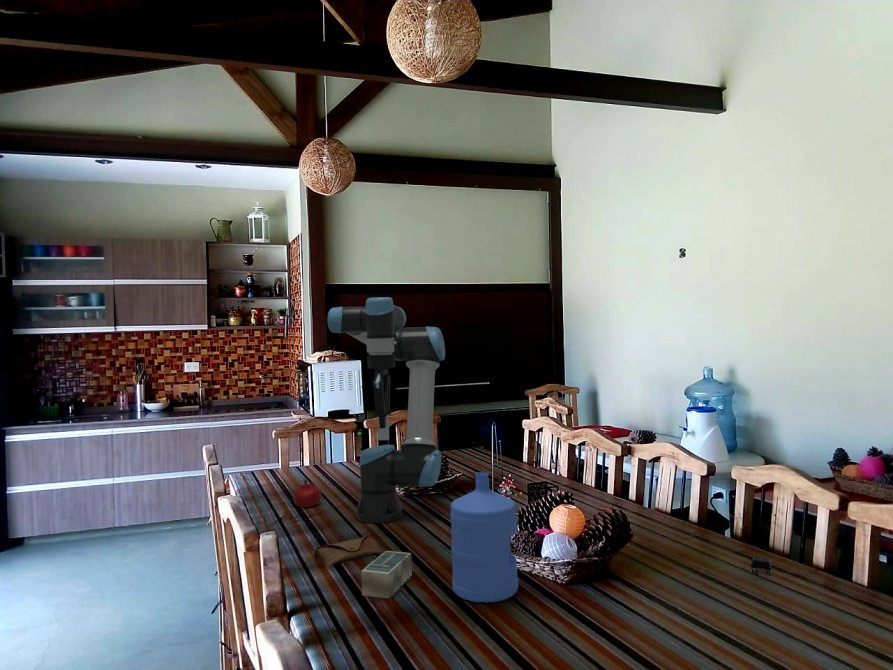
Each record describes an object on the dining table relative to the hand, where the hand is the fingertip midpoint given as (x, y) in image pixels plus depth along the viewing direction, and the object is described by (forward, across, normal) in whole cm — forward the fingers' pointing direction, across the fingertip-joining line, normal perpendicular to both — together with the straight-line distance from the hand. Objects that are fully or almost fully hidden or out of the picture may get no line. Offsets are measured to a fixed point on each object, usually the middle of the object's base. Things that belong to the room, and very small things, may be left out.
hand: (383, 439), depth 177 cm
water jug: (+33, -21, -28) cm, 48 cm away
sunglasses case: (+33, 0, +11) cm, 35 cm away
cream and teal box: (+30, -12, -6) cm, 33 cm away
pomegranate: (+33, +49, +39) cm, 71 cm away
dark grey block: (+33, -10, -95) cm, 101 cm away
